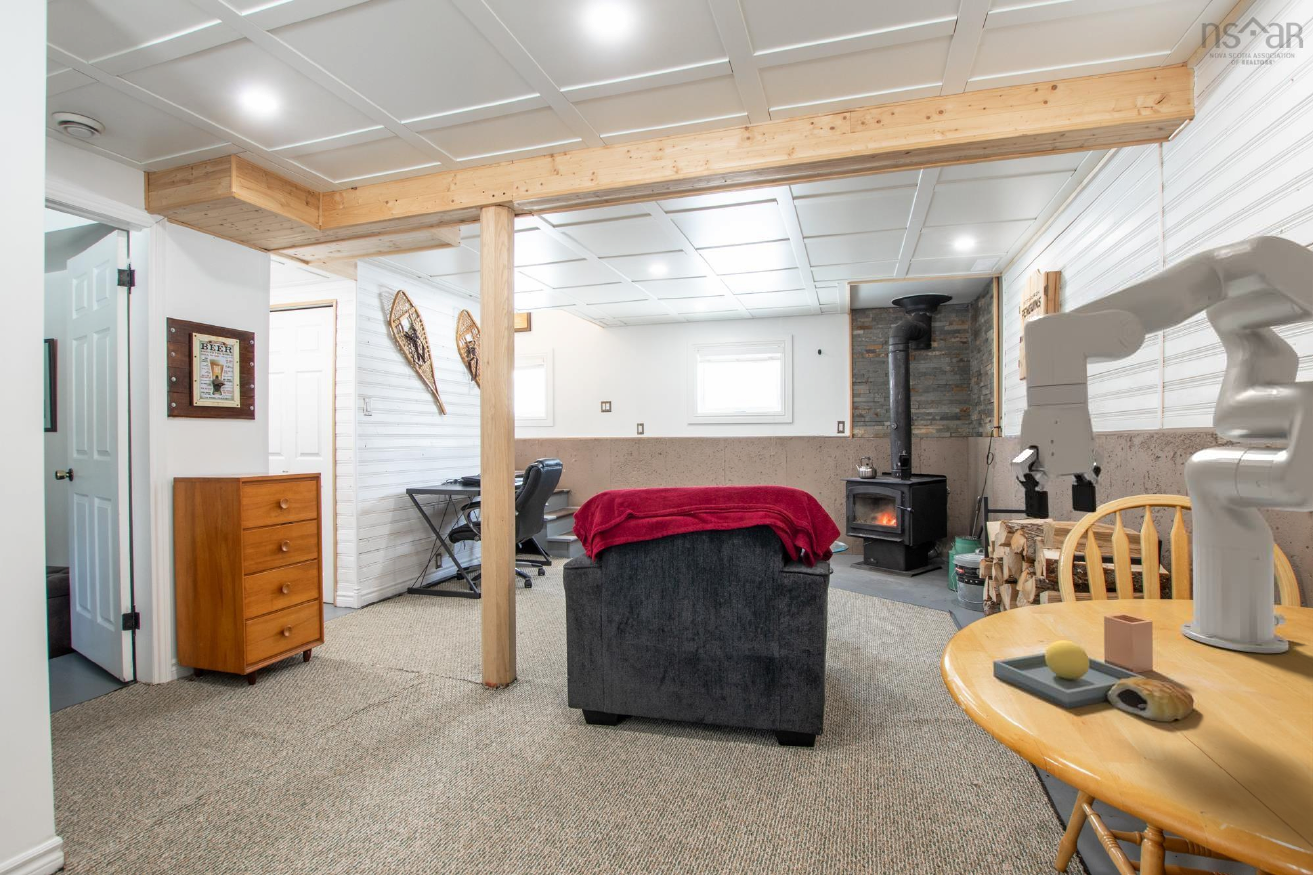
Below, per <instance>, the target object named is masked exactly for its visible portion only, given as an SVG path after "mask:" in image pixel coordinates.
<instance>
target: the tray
mask: <svg viewBox="0 0 1313 875" xmlns="http://www.w3.org/2000/svg"><path fill="white" fill-rule="evenodd" d="M1088 659H1089V669H1088V671H1087V673H1086V674H1085V675H1084V676H1082V677H1080V678H1078V679H1065V678H1062V677H1059V676H1058V675H1056V674H1055V673H1053V672H1052V671H1051V670H1050V668H1049V667H1048V665H1047V663H1046V660H1045V652H1042V653H1037V654H1030V655H1025V656H1018V657H1012V658H1006V659H1000V660H994V661H992V662H993V663H992V664H993V666H992V668H993V676H994V677H996V678H999V679H1000V680H1003V681H1005V682H1008V683H1009V684H1012V685H1014V686H1016V687H1018V688H1021V689H1023V690H1025V691H1027V692H1029V693H1032V694H1034V695H1037V696H1038V697H1040V698H1043V699H1045V700H1048V701H1049V700H1050V701H1049V702H1052V703H1054V704H1057V705H1059V706H1061V707H1063V708H1065V709H1067V710H1068V709H1069V710H1070V709H1075V708H1079V707H1082V706H1083V707H1085V706H1089V705H1095V704H1099V703H1103V702H1107V701H1109V699H1108V698H1107V693H1108V692H1109V691H1110V690H1111V689H1112V687H1113V686H1115V684H1116V683H1117V682H1118V681H1119V680H1120V679H1129V678H1131V677H1137V678H1139V677H1143V678H1147V677H1146V676H1143V675H1140V674H1137V673H1132V672H1129V671H1126V670H1124V669H1121V668H1118V667H1115V666H1112V665H1109V664H1107V663H1105V661H1104V662H1103V661H1101V660H1098V659H1095V658H1092V657H1090V656H1089V657H1088ZM1109 702H1110V701H1109Z"/></svg>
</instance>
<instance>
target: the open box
mask: <svg viewBox="0 0 1313 875" xmlns="http://www.w3.org/2000/svg"><path fill="white" fill-rule="evenodd" d="M1103 629H1104V630H1103V631H1104V632H1103V635H1104V636H1103V637H1104V638H1103V639H1104V640H1103V644H1104V646H1103V647H1104V648H1103V649H1104V654H1103V655H1104V659H1103V660H1104V663H1107V664H1109V665H1112V666H1115V667H1118V668H1121V669H1124V670H1126V671H1129V672H1132V673H1135V674H1137V673H1143V672H1148V671H1153V670H1154V667H1153V665H1154V661H1153V660H1154V655H1153V654H1154V653H1153V652H1154V650H1153V644H1154V643H1153V641H1154V639H1153V621H1152V620H1149V619H1145V618H1142V617H1138V616H1135V615H1131V614H1127V613H1118V614H1117V613H1116V614H1112V615H1105V616H1103Z"/></svg>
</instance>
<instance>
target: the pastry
mask: <svg viewBox="0 0 1313 875" xmlns="http://www.w3.org/2000/svg"><path fill="white" fill-rule="evenodd" d="M1107 698H1108V699H1109V702H1110V704H1111V705H1112V706H1113V707H1115V708H1116V709H1120V710H1121V711H1125V712H1127V713H1130V714H1134V715H1137V716H1139V717H1142V718H1144V719H1146V720H1151V721H1157V722H1160V723H1161V722H1162V723H1163V722H1164V723H1165V722H1173V721H1174V720H1176V719H1177V720H1178V721H1179V720H1182V719H1184V718H1185V717H1187V716H1189V715H1190V713H1192V711H1193V709H1194V703H1195V699H1194V698H1193V695H1192V694H1191V693H1190V692H1188V691H1185V690H1184V689H1182V688H1180V687H1179V686H1176V685H1175V684H1173V683H1170V682H1166V681H1161V680H1157V679H1154V678H1152V679H1150V678H1147V677H1146V678H1143V677H1139V678H1137V677H1131V678H1129V679H1120V680H1119V681H1118V682H1117V683H1116V684H1115V686H1113V687H1112V689H1111V690H1110V691H1109V692H1108V693H1107Z"/></svg>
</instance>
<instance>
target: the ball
mask: <svg viewBox="0 0 1313 875" xmlns="http://www.w3.org/2000/svg"><path fill="white" fill-rule="evenodd" d="M1044 653H1045V660H1046V663H1047V665H1048V667H1049V668H1050V670H1051V671H1052V672H1053V673H1055V674H1056V675H1058V676H1059V677H1062V678H1065V679H1078V678H1080V677H1082V676H1084V675H1085V674H1086V673H1087V671H1088V669H1089V659H1088V654H1087V653H1086V651H1085V649H1084V648H1082V647H1081V646H1080V645H1079V644H1077V643H1075V642H1073V641H1069V640H1065V639H1064V640H1063V639H1062V640H1057V641H1054V642H1052V643H1050V644H1049V645H1048V646H1047V648H1046V650H1045V652H1044Z"/></svg>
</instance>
